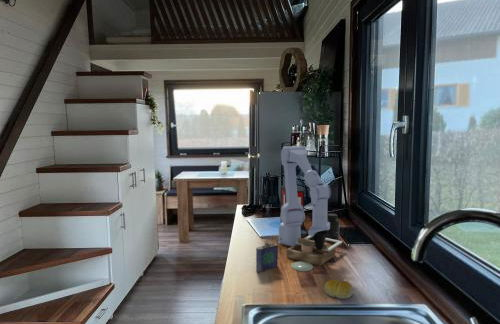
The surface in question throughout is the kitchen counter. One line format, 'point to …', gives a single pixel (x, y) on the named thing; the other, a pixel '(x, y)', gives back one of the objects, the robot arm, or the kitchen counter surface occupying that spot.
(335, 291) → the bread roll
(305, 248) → the brown cylinder
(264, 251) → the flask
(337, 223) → the supplement bottle
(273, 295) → the kitchen counter surface
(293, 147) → the robot arm
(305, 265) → the saucer
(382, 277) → the kitchen counter surface
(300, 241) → the frame
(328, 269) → the kitchen counter surface
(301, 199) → the cleaning product box
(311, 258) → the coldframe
